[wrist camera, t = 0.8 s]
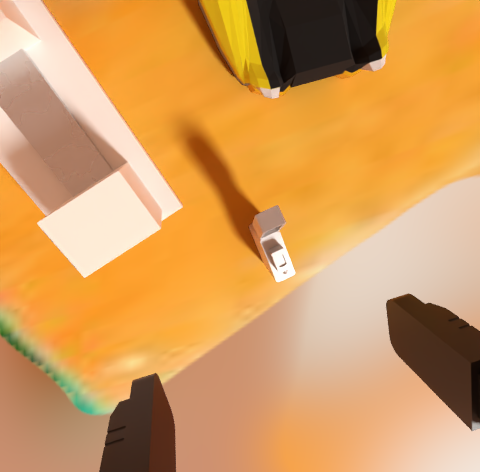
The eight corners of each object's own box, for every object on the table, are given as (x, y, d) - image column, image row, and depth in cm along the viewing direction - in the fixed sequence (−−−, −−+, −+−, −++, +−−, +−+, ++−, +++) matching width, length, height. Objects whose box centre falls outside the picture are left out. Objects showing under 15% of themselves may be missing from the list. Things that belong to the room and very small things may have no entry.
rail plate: (10, -46, 24) (2, -55, 23) (182, 204, 31) (182, 206, 30) (-105, 28, 24) (-119, 23, 23) (92, 261, 31) (89, 267, 30)
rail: (-29, -23, 23) (-34, -27, 22) (150, 220, 30) (150, 222, 29) (-75, 7, 23) (-82, 4, 22) (114, 243, 30) (113, 246, 29)
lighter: (280, 256, 34) (313, 294, 27) (263, 264, 34) (291, 304, 26) (253, 187, 32) (280, 206, 24) (235, 195, 32) (256, 217, 24)
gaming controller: (184, -30, 26) (221, 112, 30) (188, -68, 21) (233, 110, 24) (375, -74, 28) (390, 66, 31) (423, -120, 23) (435, 54, 26)
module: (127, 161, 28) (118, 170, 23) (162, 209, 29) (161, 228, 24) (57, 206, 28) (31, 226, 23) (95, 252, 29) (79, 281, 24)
